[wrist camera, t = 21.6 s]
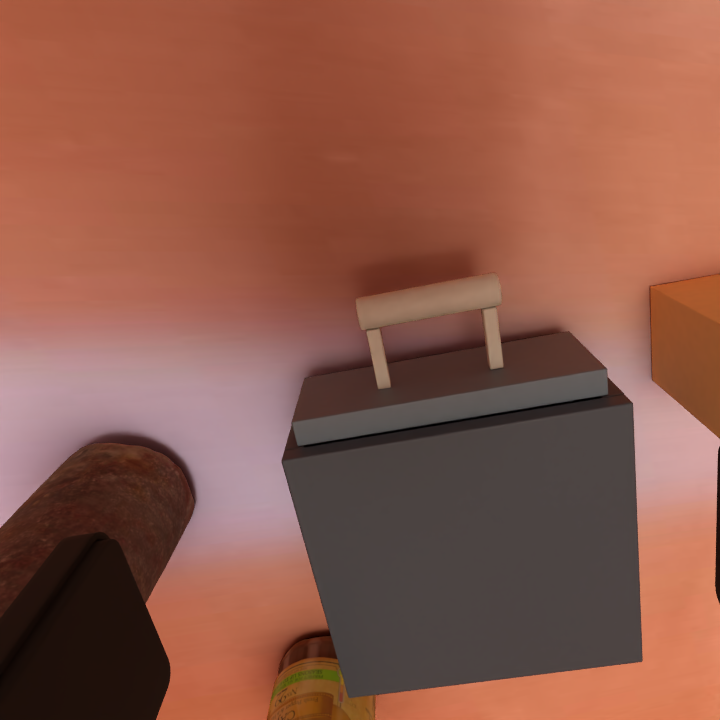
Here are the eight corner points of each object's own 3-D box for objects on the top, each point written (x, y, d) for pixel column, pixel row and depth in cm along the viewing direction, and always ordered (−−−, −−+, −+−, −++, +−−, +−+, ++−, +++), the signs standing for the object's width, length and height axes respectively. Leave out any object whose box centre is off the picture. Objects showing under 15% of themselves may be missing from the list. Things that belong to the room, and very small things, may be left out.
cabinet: (300, 393, 30) (280, 461, 24) (577, 345, 29) (633, 402, 23) (353, 597, 35) (348, 699, 29) (592, 564, 34) (643, 662, 27)
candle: (62, 530, 34) (-323, 1014, 15) (60, 419, 31) (-407, 839, 13) (192, 550, 34) (-28, 1050, 15) (202, 443, 32) (-49, 886, 13)
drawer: (283, 297, 28) (265, 329, 23) (562, 244, 26) (602, 266, 22) (354, 576, 33) (351, 645, 29) (585, 543, 32) (620, 610, 28)
